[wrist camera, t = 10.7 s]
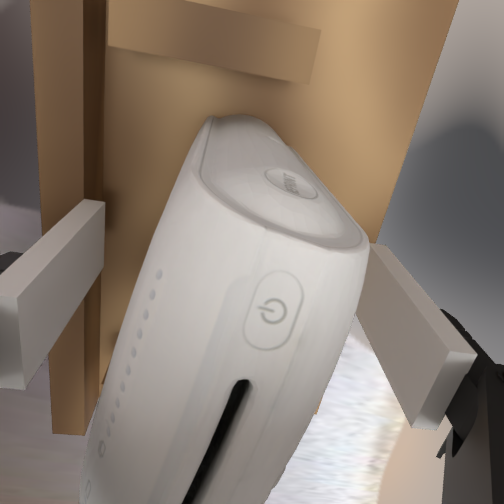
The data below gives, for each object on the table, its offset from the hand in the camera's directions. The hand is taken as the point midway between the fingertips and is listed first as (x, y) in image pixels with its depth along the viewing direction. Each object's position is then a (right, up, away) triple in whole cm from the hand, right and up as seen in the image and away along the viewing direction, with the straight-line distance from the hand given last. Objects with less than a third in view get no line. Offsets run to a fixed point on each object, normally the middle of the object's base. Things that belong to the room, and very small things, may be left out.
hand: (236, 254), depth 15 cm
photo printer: (-1, +1, +2) cm, 3 cm away
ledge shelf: (-1, +2, +4) cm, 4 cm away
